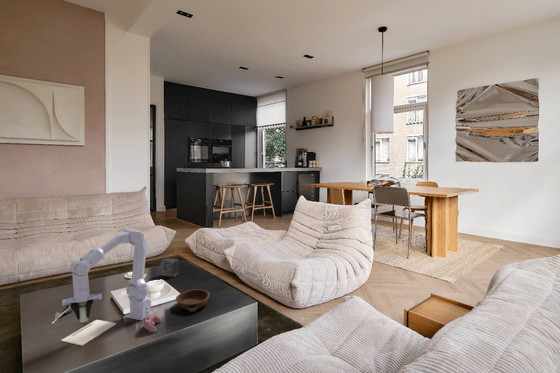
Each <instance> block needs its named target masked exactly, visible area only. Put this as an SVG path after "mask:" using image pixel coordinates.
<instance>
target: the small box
mask: <svg viewBox="0 0 560 373" xmlns="http://www.w3.org/2000/svg"><path fill="white" fill-rule="evenodd" d="M179 261H180V260H179V259H174V258H168V257H167V258H164V259H161V260H160V261H159V262H160V275H161V277H165V278H166V277H167V278H172V279H173V278H175V277H179V276H180V262H179Z"/></svg>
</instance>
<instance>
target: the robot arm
mask: <svg viewBox="0 0 560 373" xmlns="http://www.w3.org/2000/svg"><path fill="white" fill-rule="evenodd" d="M147 243H148V242H147V241H146V239H145V234H144V233H143V232H142V231H141V230H139V229H134V228H130V227H125V228H124V229H122V230H120V231H119V232H118V233H117V234H116V235H115V236H114V237H112V238H111V239H109V240H108V241H107V242H106V243H105V244H103V245H102V246H101V247H99V248H98V247H95V248H91V249H90V250H89V252H87V254H84V256H81V257H80V258H79V259H76V260H73V261H72V262H71V264H70V265H69V267H68V269H69V271H70V272H71V274H72V286H73V296H72V297H69V298H64V299H62V301H61V306H62V307H63V306H67V305H70V306H69V308H71V309H70V310H71V311H72V312H74V314H75V316H76V319H77V320H79V321H80V316H79V305H80V303H83V302H86V303H85V304H86V308H87V318H88V319H89V318H90V316H91V309H92V306H93V304H94V301H96V300H99V301H100V300H102V293H92V294H91V293H90V284H89V275H88V274H89V272H90V270H91V268H92V267H93V266H96V264H97V263H99V262H100V261H101V260H103V259H104V258H105V254H107V253H109V252H110V251H112V250H113V249H115V248H116V247H118V246H119V245H121V244H130V245H132V246H133V247H134V249H133V251H134V252H133V261H132V273H131V279H130V280H129V281H128V284H127V287H126V290H125V291H126V294H127V295H128V297H129V299H128V300H129V312H130V313H129V314H128V315H126V318H128V319H133V320H139V321H143V320H145V318H146V316H147V315H149V314H152V313H153V314H154V312H153V311H152V302H151V300H150V299H149V298H147V297H146V296H148V292H149V291H148V288H147V282H146V280H145V269H146V268H145V267H146V256H147V247H148V246H147V245H148V244H147Z"/></svg>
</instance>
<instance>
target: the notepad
mask: <svg viewBox="0 0 560 373" xmlns="http://www.w3.org/2000/svg"><path fill="white" fill-rule="evenodd" d="M115 325H117V323H116V322H111V321H107V320H100V319H95V320H93V321H92V322H90V323H89V324H88V323H87V325H85V326H83V327H81V328H80V329H78V330H77V331H75V332H73V333H71V334H69V335H68V336H66V337H64V338H62V339H60V340H61V341H60V342H64V343H68V344H73V345H77V346H82V347H83V346H84V345H86V344H87V343H88V342H90V341H92V340H94V339H95V338H97V337H98V336H100V335H101V334H103V333H105V332H106V331H108V330H109V329H110V328H113V327H114V326H115Z"/></svg>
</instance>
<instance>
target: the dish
mask: <svg viewBox="0 0 560 373" xmlns="http://www.w3.org/2000/svg"><path fill="white" fill-rule="evenodd" d="M210 295H211V294H210V291H207V290H206V289H202V288H200V289H198V288H193V289H188V290H186V291H183V292H180V293H179V294H178V295H177V296H176V298H175V301H176V302H177V303H178V306H179V307H180V308H181V309H183V310H186V311H188V312H190V313H193V312H196V311H197V310H198V309H201V308H203V307H205V305H207V303H208V301H209V297H210Z"/></svg>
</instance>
